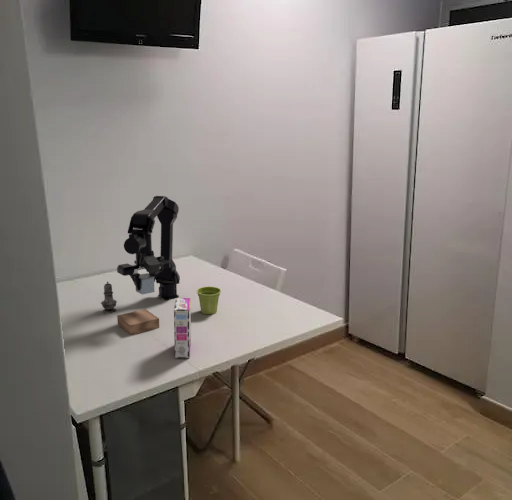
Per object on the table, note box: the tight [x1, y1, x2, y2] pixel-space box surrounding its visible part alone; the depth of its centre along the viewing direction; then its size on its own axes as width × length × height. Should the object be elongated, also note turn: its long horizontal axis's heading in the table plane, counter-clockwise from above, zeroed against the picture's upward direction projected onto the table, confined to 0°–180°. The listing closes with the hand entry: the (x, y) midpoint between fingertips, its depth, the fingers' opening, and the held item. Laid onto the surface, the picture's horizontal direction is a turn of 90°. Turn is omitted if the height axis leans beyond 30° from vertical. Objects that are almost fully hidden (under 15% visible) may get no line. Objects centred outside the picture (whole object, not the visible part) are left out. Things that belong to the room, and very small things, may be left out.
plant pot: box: [196, 286, 222, 315], centre depth 201 cm, size 9×9×9 cm
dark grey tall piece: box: [100, 280, 118, 314], centre depth 200 cm, size 6×6×12 cm
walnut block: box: [116, 308, 160, 336], centre depth 187 cm, size 11×11×4 cm
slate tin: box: [135, 272, 155, 296], centre depth 191 cm, size 5×5×6 cm
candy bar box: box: [173, 297, 192, 359], centre depth 167 cm, size 11×5×16 cm, turn 5°
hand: (144, 288), depth 192 cm, fingers closed on slate tin, 5 cm apart
